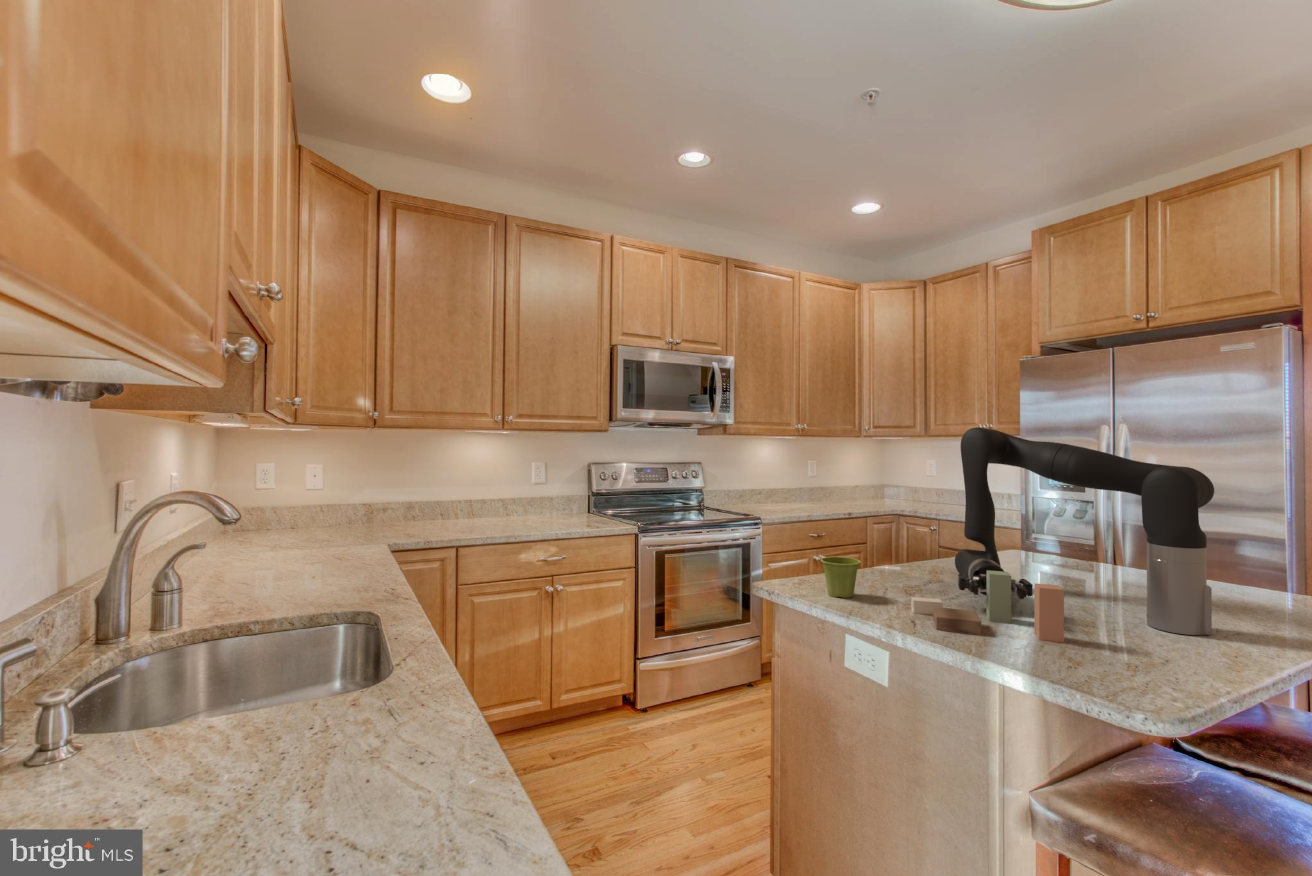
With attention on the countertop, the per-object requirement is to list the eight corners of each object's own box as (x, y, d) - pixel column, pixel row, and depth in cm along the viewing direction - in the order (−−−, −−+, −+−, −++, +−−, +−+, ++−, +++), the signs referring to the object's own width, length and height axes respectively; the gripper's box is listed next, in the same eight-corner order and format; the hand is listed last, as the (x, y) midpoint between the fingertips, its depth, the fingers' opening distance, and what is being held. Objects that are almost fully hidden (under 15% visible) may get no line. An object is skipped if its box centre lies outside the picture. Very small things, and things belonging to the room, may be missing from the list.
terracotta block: (1058, 636, 116) (1058, 585, 116) (1063, 642, 112) (1064, 589, 112) (1034, 633, 117) (1034, 583, 117) (1039, 639, 114) (1039, 587, 114)
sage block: (1007, 618, 128) (1007, 571, 128) (1011, 623, 124) (1011, 575, 124) (986, 616, 129) (986, 570, 129) (989, 621, 125) (989, 574, 126)
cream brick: (939, 612, 132) (939, 598, 132) (942, 616, 130) (942, 602, 130) (911, 610, 134) (911, 597, 134) (913, 614, 131) (913, 600, 131)
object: (838, 601, 140) (839, 565, 140) (812, 592, 148) (812, 558, 148) (868, 597, 144) (869, 562, 144) (841, 589, 152) (841, 555, 152)
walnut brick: (975, 625, 124) (975, 610, 124) (981, 636, 116) (981, 621, 116) (933, 620, 127) (933, 606, 127) (936, 631, 119) (936, 617, 119)
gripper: (953, 558, 144) (961, 571, 129) (1021, 563, 139) (1038, 577, 123) (953, 589, 144) (961, 606, 129) (1021, 595, 138) (1038, 613, 123)
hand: (999, 592), depth 126 cm, fingers open, 8 cm apart
